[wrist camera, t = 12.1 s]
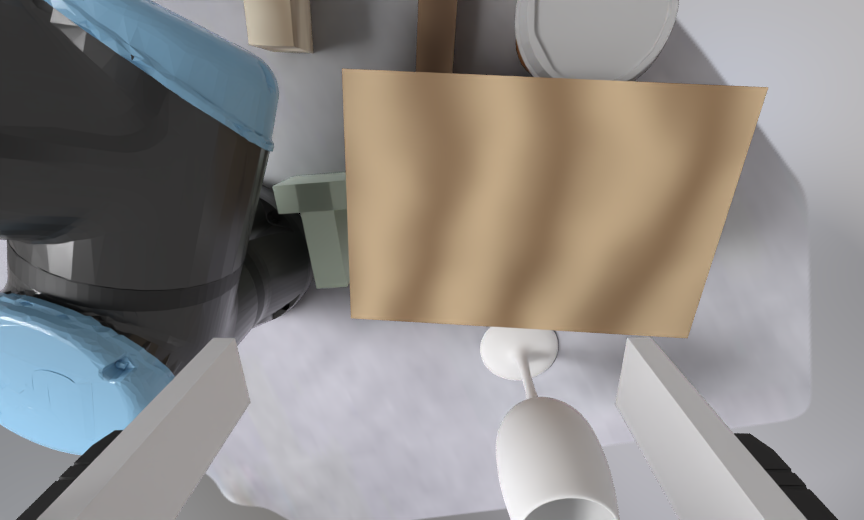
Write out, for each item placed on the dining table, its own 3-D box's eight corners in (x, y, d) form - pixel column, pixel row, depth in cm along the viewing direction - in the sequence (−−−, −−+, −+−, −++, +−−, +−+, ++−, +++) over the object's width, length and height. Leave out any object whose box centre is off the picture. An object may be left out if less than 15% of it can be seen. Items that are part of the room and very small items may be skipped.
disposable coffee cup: (496, -22, 33) (519, -84, 22) (616, -33, 32) (703, -103, 21) (496, 103, 36) (517, 104, 25) (605, 95, 36) (674, 94, 25)
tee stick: (312, 269, 43) (296, 289, 39) (293, 176, 40) (272, 186, 35) (377, 265, 43) (368, 285, 38) (363, 170, 39) (351, 179, 35)
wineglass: (495, 304, 44) (531, 468, 24) (570, 326, 44) (663, 504, 25) (469, 367, 47) (482, 557, 28) (539, 387, 48) (601, 587, 28)
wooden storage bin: (386, 240, 42) (350, 318, 27) (386, 81, 36) (341, 68, 21) (602, 252, 41) (687, 338, 26) (635, 92, 36) (768, 87, 21)
